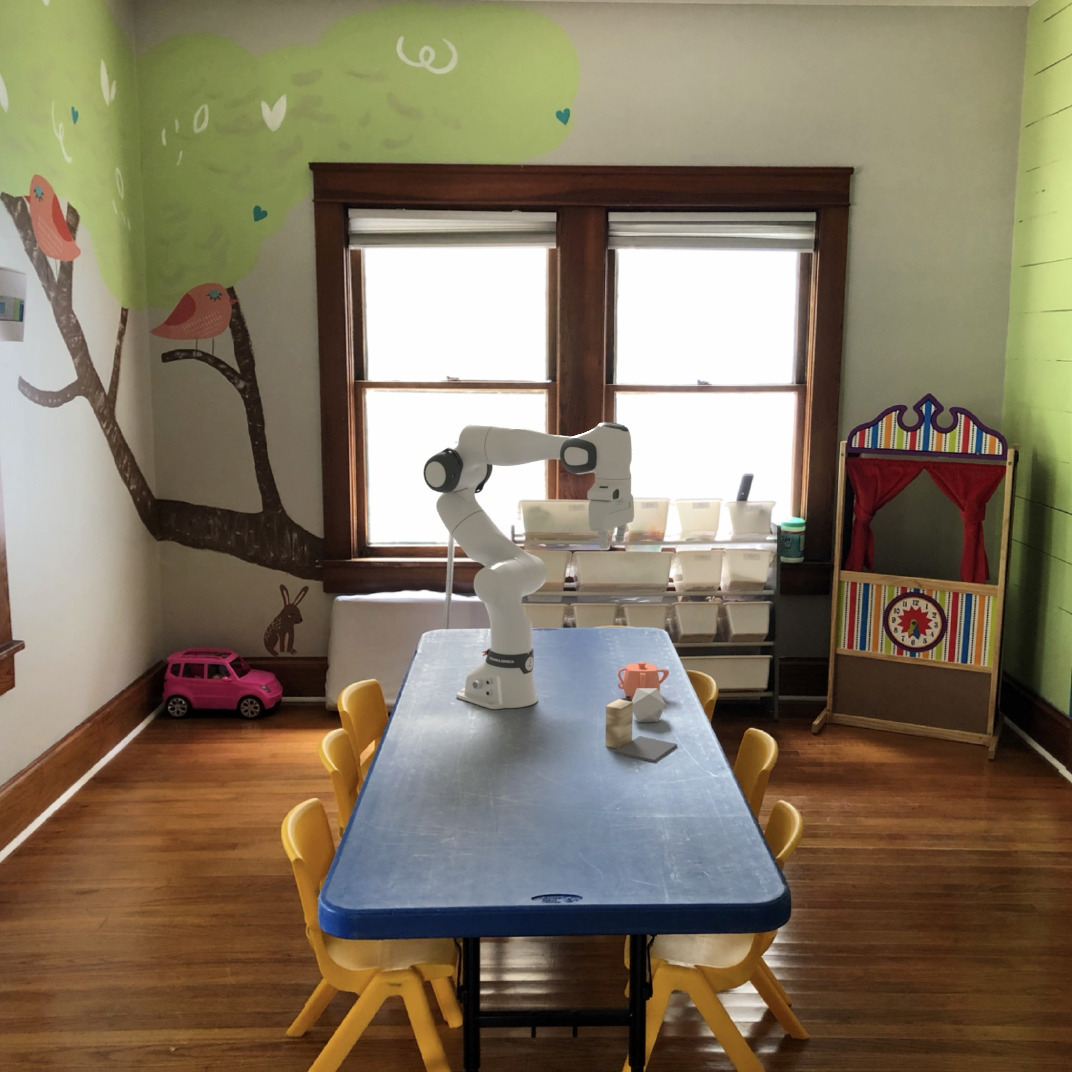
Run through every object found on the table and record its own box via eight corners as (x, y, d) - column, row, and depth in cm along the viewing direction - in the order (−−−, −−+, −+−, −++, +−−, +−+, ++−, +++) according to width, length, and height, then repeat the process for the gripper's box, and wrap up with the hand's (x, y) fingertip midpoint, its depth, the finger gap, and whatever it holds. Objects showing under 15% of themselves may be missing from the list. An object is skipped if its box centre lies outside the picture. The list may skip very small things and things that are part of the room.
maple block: (605, 745, 251) (606, 705, 249) (617, 738, 256) (618, 699, 254) (620, 749, 249) (620, 708, 247) (632, 741, 254) (632, 702, 252)
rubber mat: (616, 753, 246) (616, 751, 246) (639, 738, 256) (639, 735, 256) (654, 762, 240) (654, 759, 240) (677, 746, 250) (677, 744, 250)
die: (655, 731, 263) (674, 696, 265) (624, 712, 264) (644, 677, 265) (650, 731, 271) (670, 698, 273) (621, 713, 272) (640, 680, 274)
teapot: (639, 687, 296) (640, 654, 295) (671, 697, 287) (671, 663, 286) (610, 695, 289) (610, 661, 287) (641, 706, 280) (642, 670, 278)
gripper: (617, 484, 268) (616, 537, 270) (584, 493, 250) (583, 550, 252) (640, 485, 265) (639, 539, 267) (608, 494, 247) (607, 552, 249)
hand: (612, 545), depth 259 cm, fingers open, 8 cm apart
